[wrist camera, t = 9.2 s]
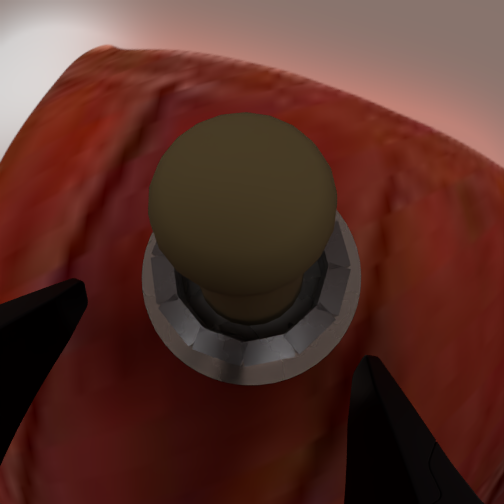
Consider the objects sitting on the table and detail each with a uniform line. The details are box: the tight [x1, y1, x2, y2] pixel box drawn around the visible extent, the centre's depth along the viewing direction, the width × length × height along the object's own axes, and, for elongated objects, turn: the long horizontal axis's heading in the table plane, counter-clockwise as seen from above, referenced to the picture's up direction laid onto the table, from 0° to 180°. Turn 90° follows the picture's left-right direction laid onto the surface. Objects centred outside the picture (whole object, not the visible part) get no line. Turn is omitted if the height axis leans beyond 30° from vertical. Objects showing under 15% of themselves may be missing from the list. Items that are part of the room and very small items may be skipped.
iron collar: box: [142, 210, 361, 385], centre depth 17 cm, size 13×13×3 cm
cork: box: [148, 112, 337, 326], centre depth 12 cm, size 6×6×11 cm
